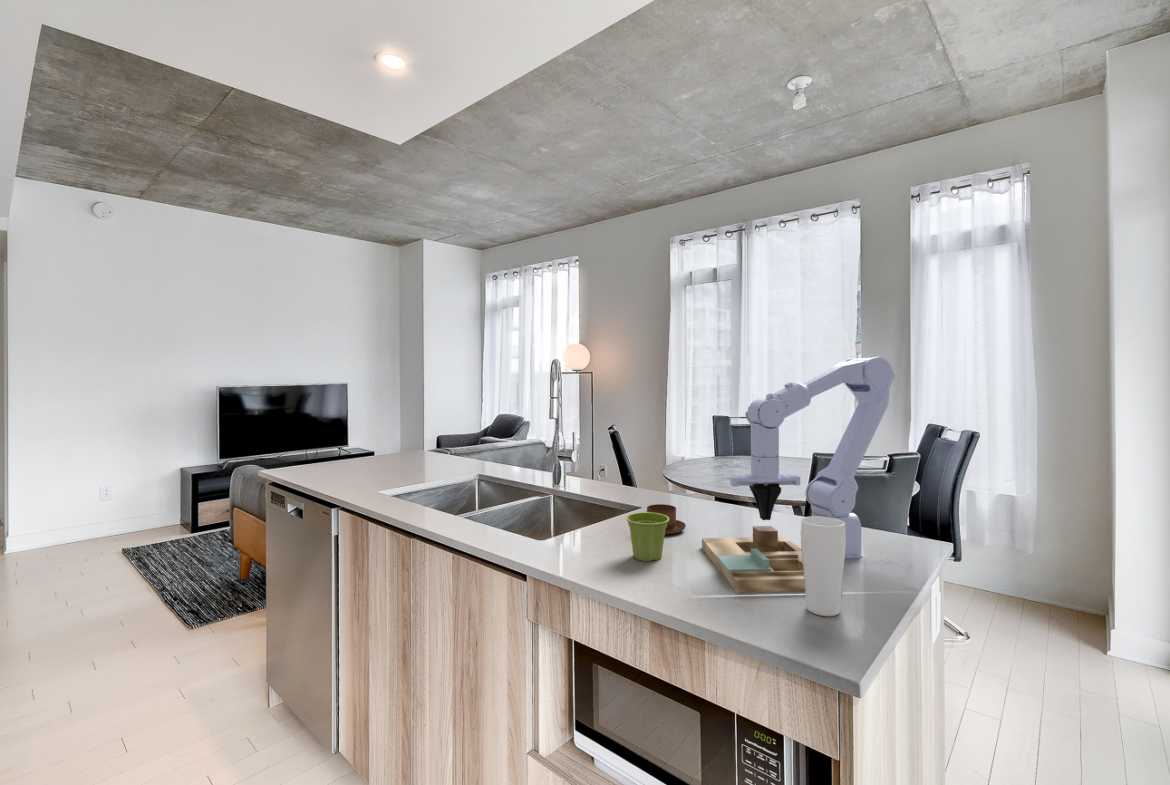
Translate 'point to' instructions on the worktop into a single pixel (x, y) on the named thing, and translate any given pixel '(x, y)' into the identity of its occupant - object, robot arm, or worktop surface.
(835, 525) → the drinking glass
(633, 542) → the plant pot
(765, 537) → the block
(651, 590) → the worktop surface
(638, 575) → the worktop surface
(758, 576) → the board
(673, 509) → the cup and saucer
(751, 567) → the lid
